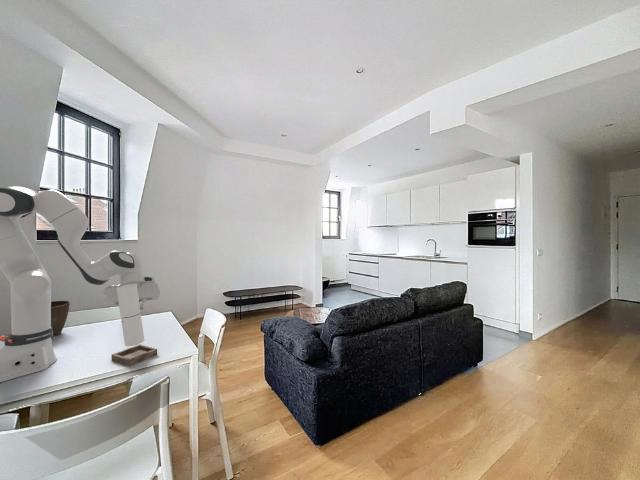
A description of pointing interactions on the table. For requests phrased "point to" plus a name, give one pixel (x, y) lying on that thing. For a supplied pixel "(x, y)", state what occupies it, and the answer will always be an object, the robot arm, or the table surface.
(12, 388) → the table surface
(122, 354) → the wooden serving tray
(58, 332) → the plant pot
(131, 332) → the cylindrical container
